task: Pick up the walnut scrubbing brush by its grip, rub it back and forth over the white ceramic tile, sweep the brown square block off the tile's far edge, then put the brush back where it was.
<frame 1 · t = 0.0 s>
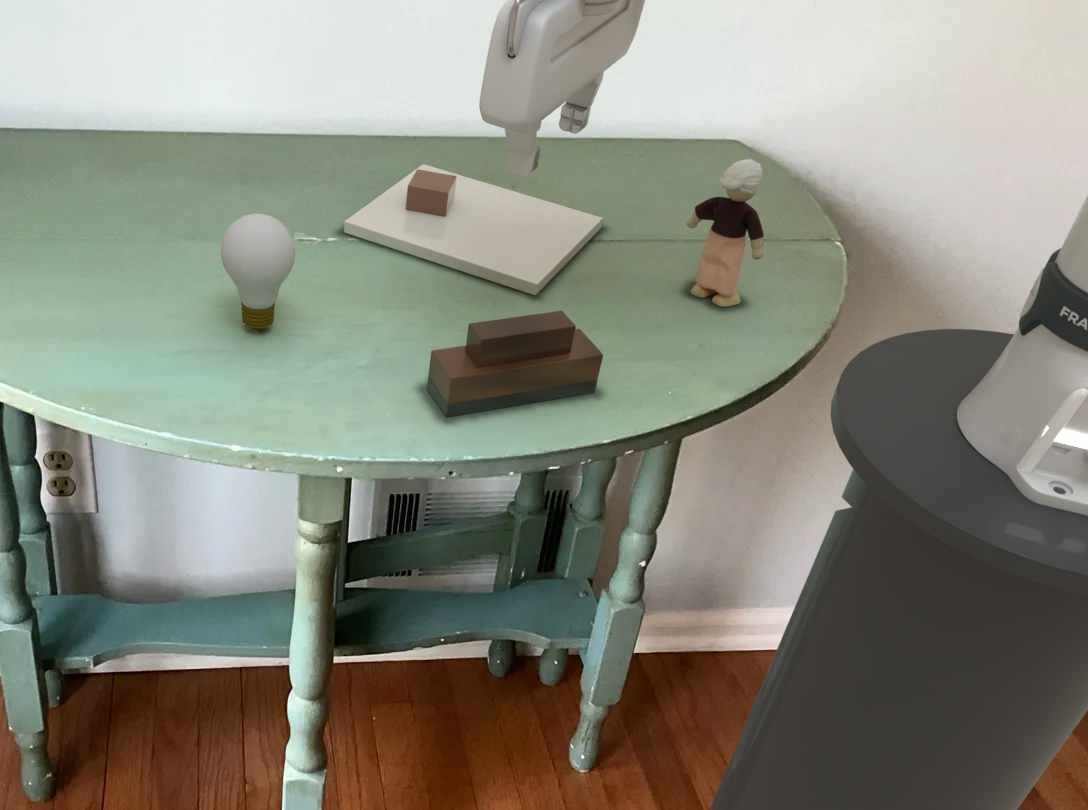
hand: (547, 149, 88), 17 cm above the table, tool pointing down, fingers open, 8 cm apart
brown square block: (429, 204, 116), point 1 cm above the table, touching tile
light bulb: (258, 330, 99), on the table
tile: (474, 230, 115), on the table
grandmother figurine: (708, 295, 109), on the table
brush: (511, 390, 95), on the table
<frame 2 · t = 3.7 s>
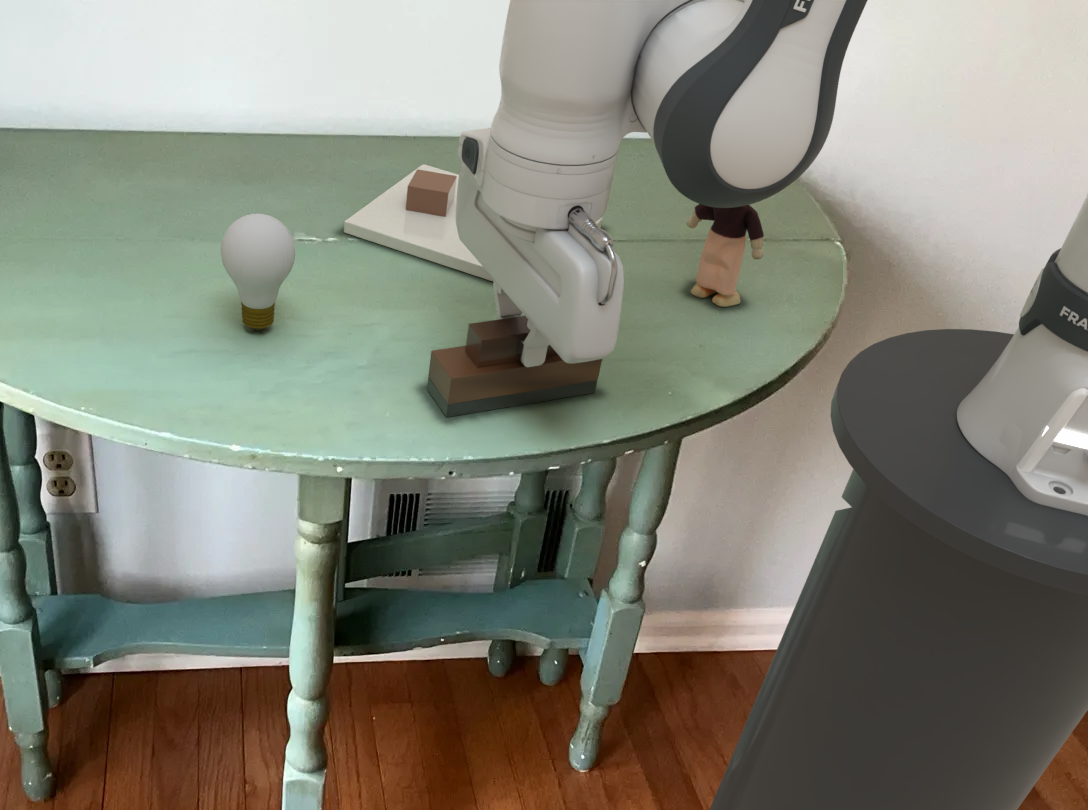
hand: (518, 348, 92), 4 cm above the table, tool pointing down, fingers closed on brush, 2 cm apart
brush: (511, 391, 95), on the table, touching gripper
everything else where it was.
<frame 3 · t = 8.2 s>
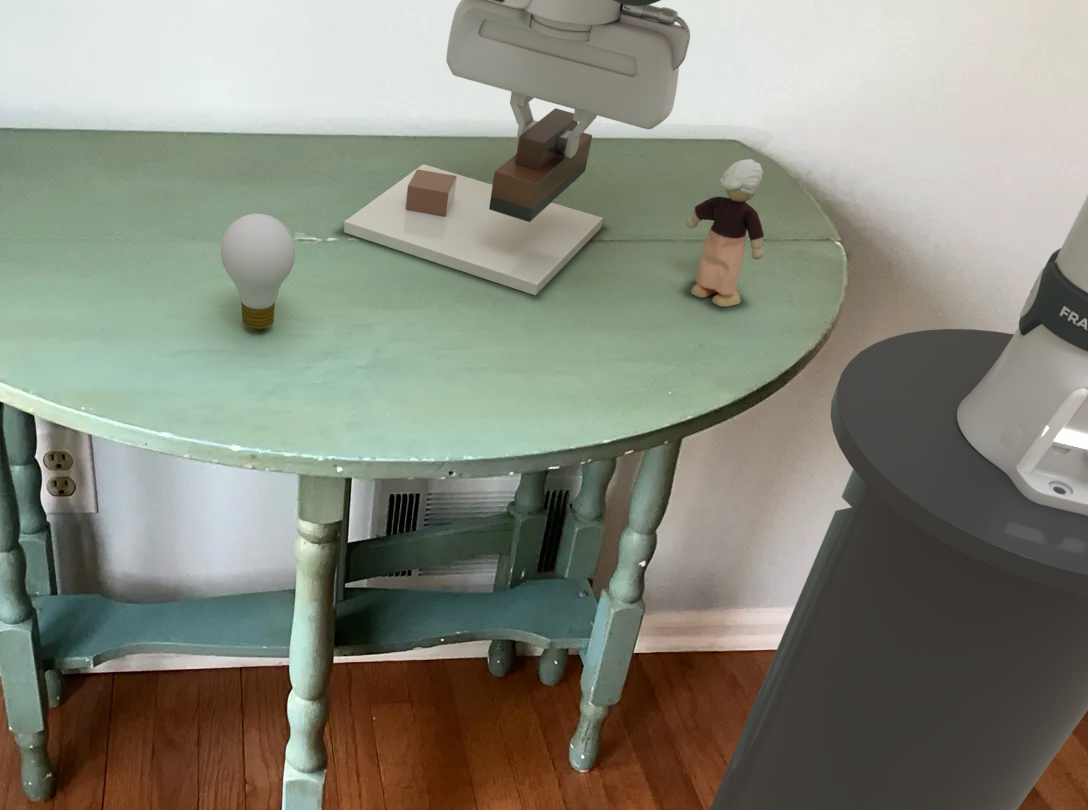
hand: (545, 148, 106), 10 cm above the table, tool pointing down, fingers closed on brush, 2 cm apart
brush: (538, 190, 109), point 6 cm above the table, touching gripper
everything else where it was.
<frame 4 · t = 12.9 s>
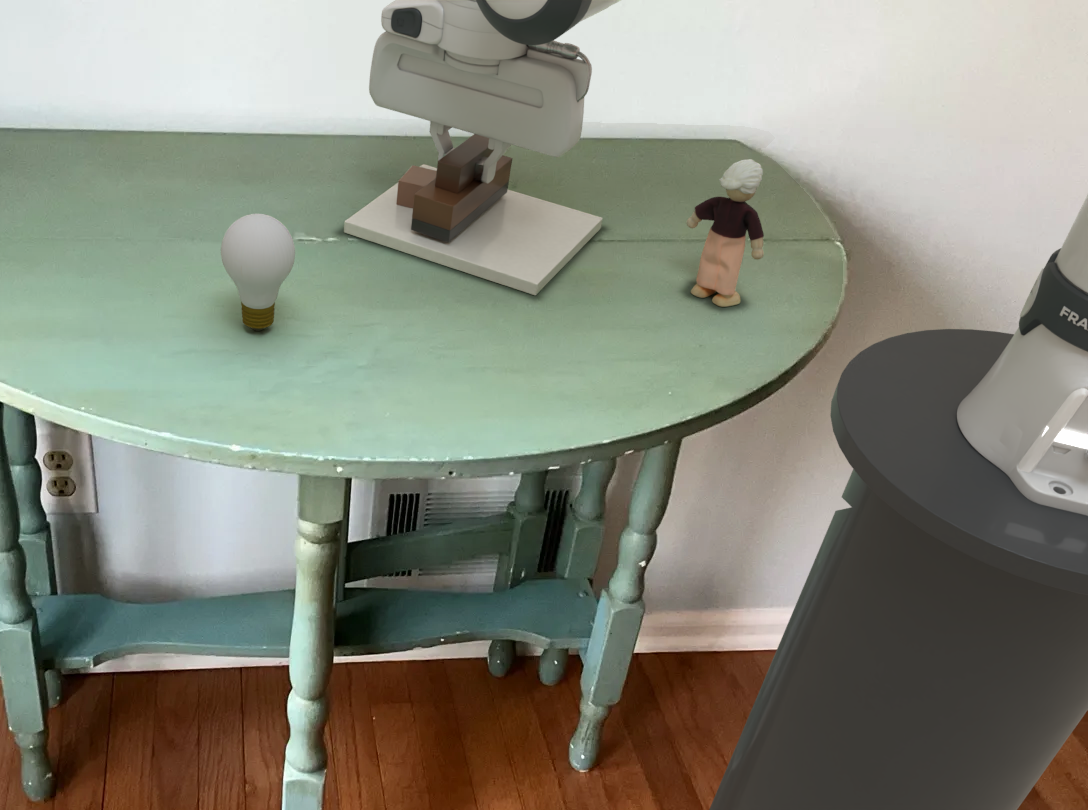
hand: (465, 174, 112), 5 cm above the table, tool pointing down, fingers closed on brush, 2 cm apart
brown square block: (422, 201, 116), point 1 cm above the table, touching tile
brush: (460, 210, 114), point 2 cm above the table, touching gripper
everything else where it was.
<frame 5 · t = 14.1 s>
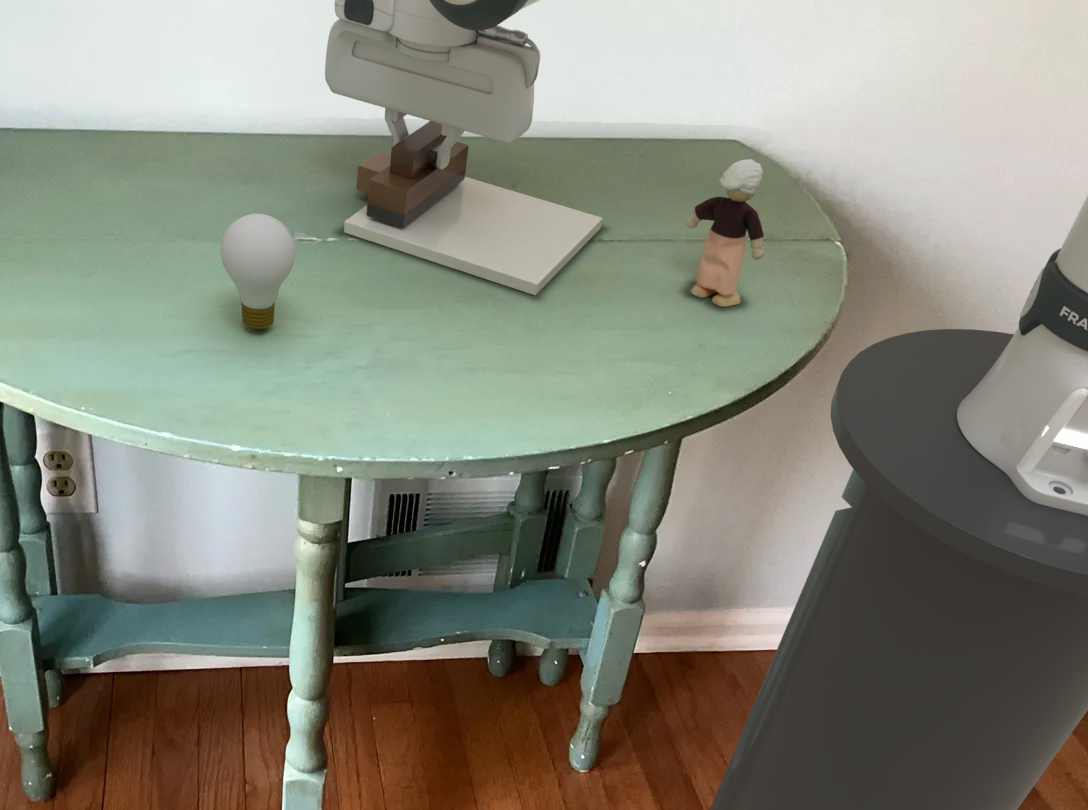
hand: (420, 160, 114), 5 cm above the table, tool pointing down, fingers closed on brush, 2 cm apart
brown square block: (383, 187, 118), point 1 cm above the table, touching tile
brush: (417, 197, 116), point 2 cm above the table, touching gripper
everything else where it was.
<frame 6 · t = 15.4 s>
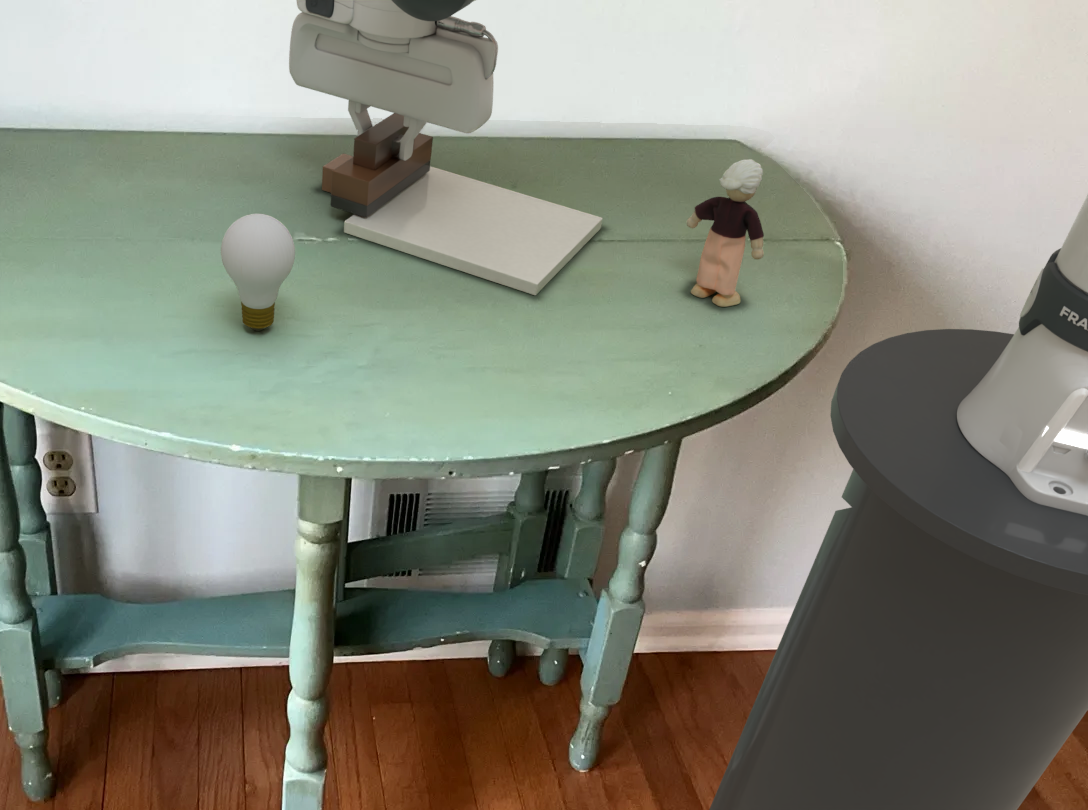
hand: (384, 152, 115), 5 cm above the table, tool pointing down, fingers closed on brush, 2 cm apart
brown square block: (348, 188, 120), on the table
brush: (381, 188, 118), point 1 cm above the table, touching gripper
everything else where it was.
when the fingers open (4 cm above the table, at t = 22.6 s): brush stays where it is, on the table.
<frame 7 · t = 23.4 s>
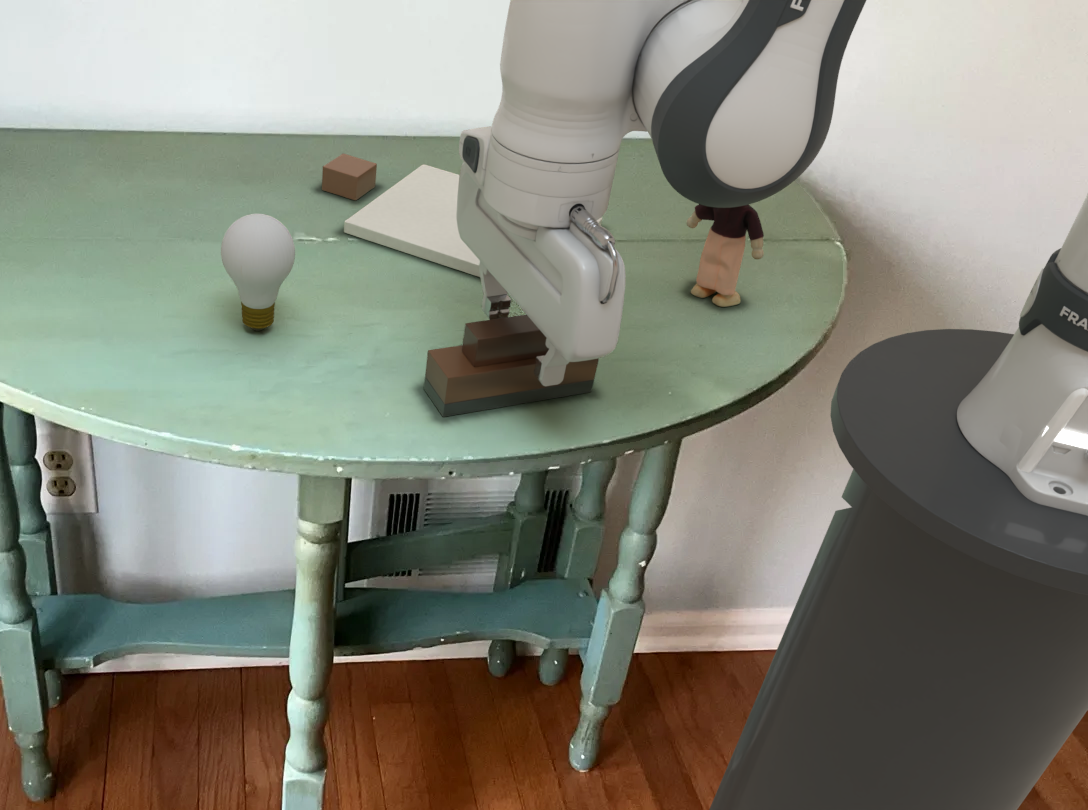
hand: (520, 347, 92), 4 cm above the table, tool pointing down, fingers open, 8 cm apart
brush: (508, 390, 95), on the table
everything else where it was.
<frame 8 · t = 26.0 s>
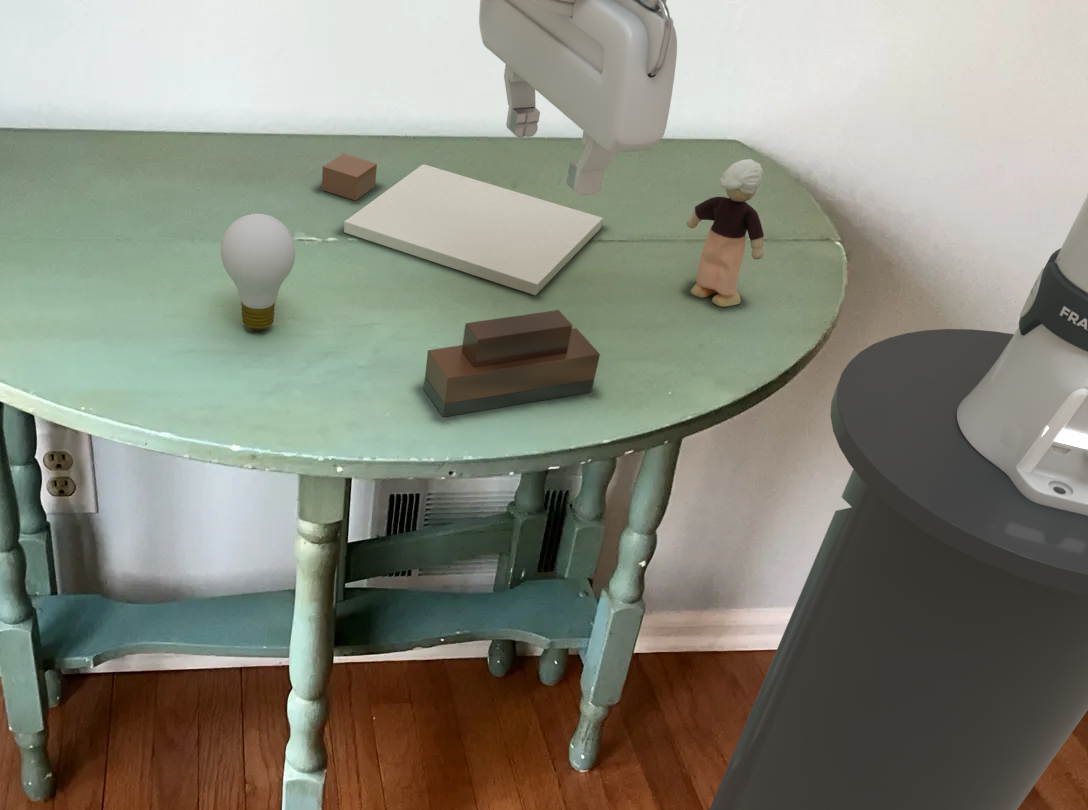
hand: (550, 160, 82), 19 cm above the table, tool pointing down, fingers open, 8 cm apart
nothing on the table moved.
at the end: brown square block on the table; brush inside the target area (0.2 cm from its centre), on the table; the gripper is holding nothing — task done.
